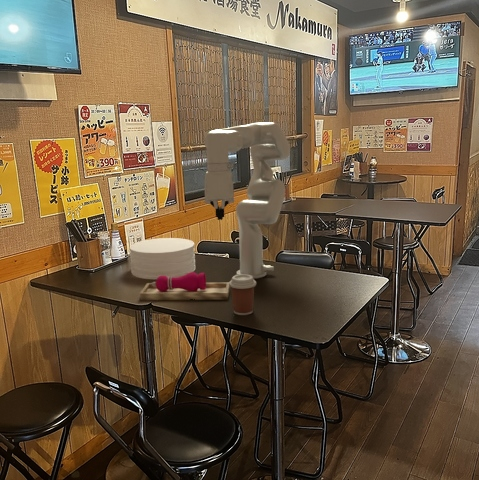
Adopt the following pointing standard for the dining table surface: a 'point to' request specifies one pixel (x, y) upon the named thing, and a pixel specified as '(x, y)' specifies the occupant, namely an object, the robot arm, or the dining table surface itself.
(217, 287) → the birch tray
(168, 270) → the plate stack
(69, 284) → the dining table surface
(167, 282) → the pepper mill
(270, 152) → the robot arm
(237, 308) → the coffee cup
